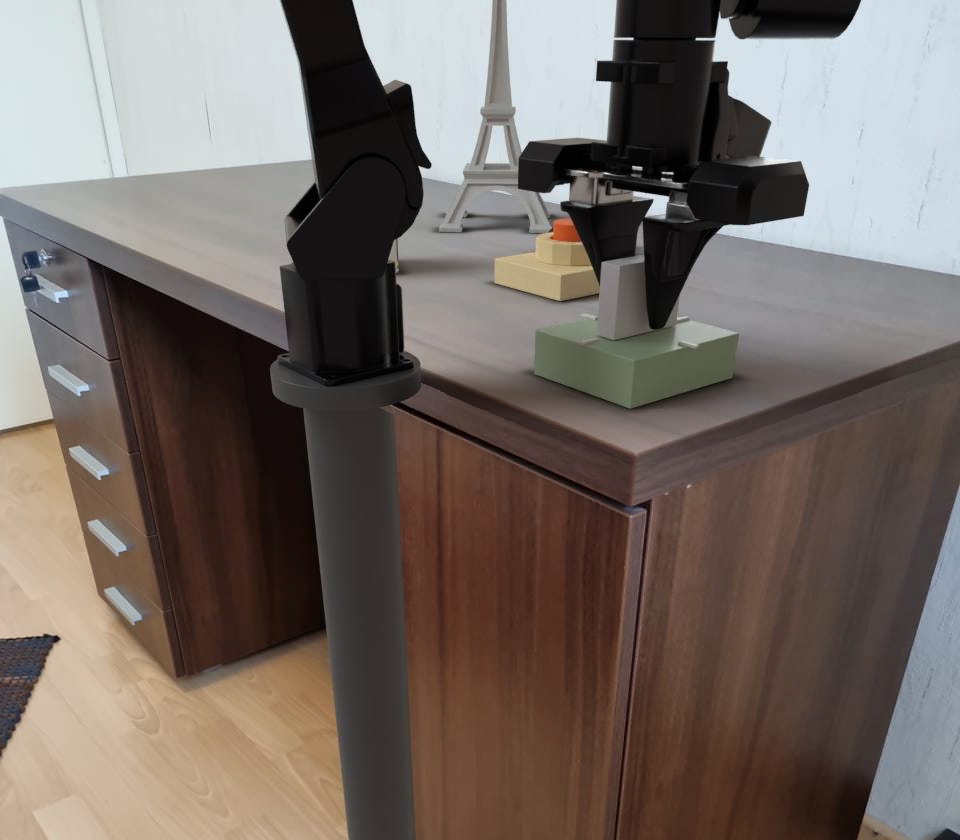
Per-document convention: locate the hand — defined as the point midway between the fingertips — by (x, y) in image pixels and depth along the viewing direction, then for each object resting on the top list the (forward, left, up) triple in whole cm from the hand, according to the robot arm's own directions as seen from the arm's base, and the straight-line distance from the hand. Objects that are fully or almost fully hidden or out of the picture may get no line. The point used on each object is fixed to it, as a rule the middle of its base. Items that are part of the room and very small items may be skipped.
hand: (637, 323), depth 60 cm
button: (+16, +23, 0) cm, 28 cm away
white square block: (0, 0, 0) cm, 0 cm away
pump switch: (+16, +23, -4) cm, 28 cm away
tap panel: (0, 0, -4) cm, 4 cm away
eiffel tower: (+32, +53, -4) cm, 62 cm away
